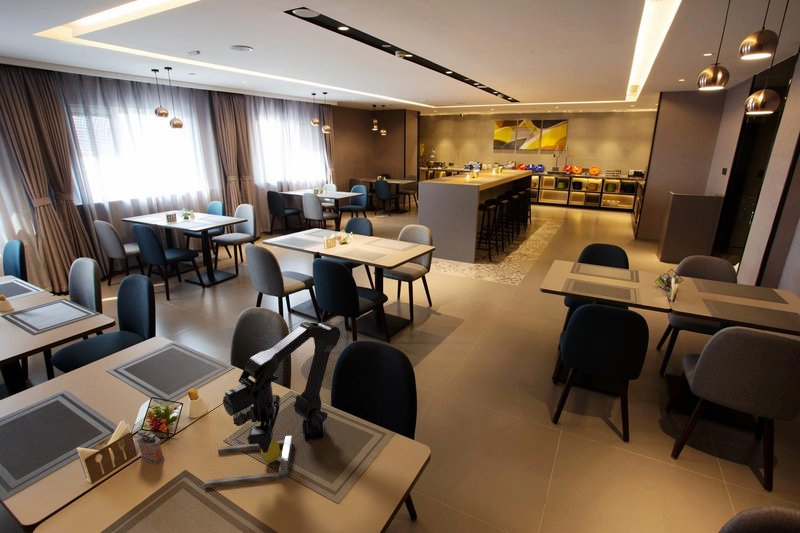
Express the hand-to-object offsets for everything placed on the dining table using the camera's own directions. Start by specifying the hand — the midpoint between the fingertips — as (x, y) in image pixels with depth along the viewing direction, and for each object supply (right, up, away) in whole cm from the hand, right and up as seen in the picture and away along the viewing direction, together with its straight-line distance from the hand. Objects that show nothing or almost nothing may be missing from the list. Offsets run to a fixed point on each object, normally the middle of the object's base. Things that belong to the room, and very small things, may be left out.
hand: (268, 441), depth 119 cm
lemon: (0, -8, +3) cm, 8 cm away
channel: (-6, -8, +2) cm, 10 cm away
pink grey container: (-38, -8, +4) cm, 39 cm away
